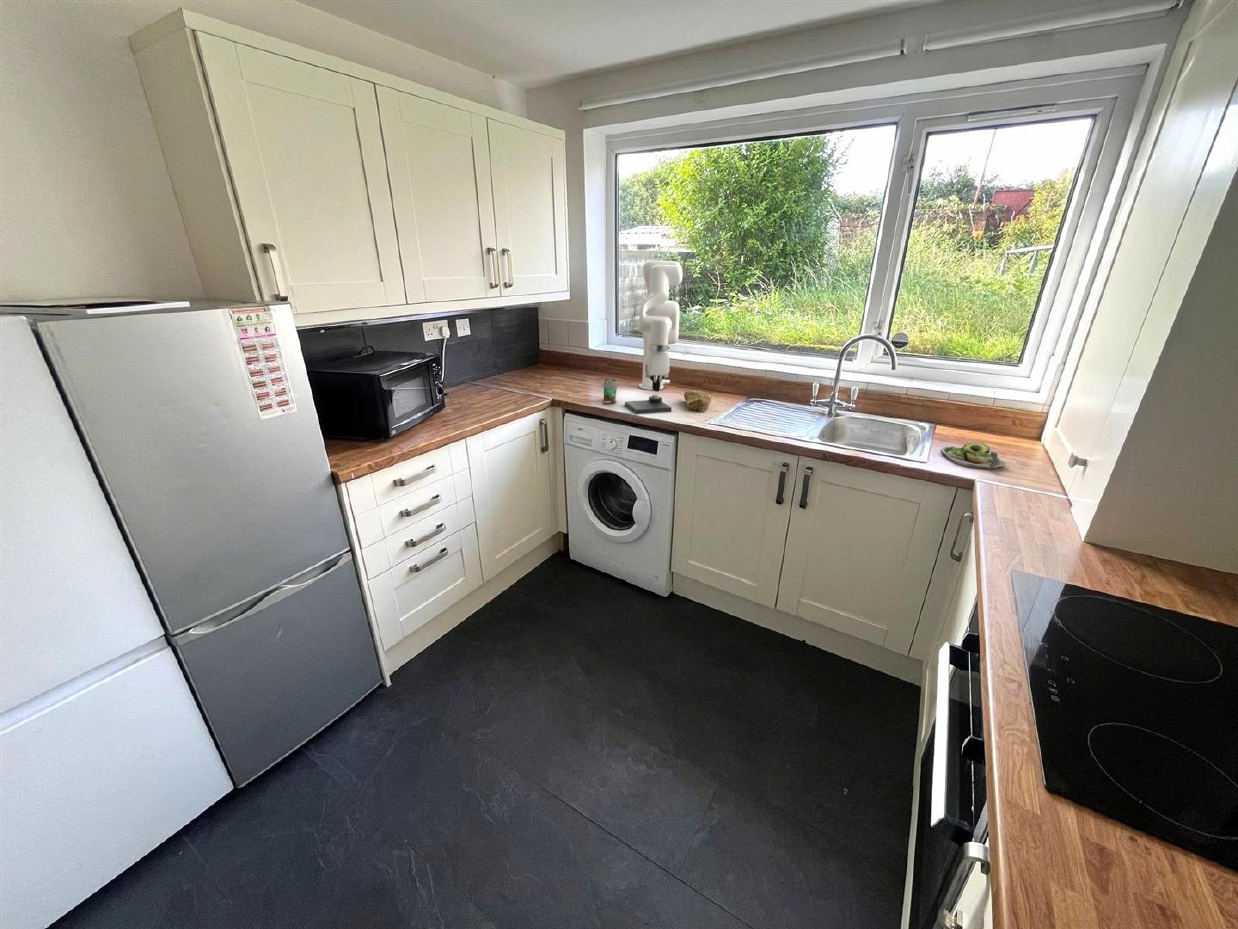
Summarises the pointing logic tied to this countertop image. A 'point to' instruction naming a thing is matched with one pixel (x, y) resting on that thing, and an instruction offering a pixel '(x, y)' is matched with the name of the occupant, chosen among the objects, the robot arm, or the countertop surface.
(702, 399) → the mossy rock
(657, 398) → the scale button
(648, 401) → the scale
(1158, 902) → the countertop surface
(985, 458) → the salad plate
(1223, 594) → the countertop surface
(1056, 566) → the countertop surface
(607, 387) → the food container
